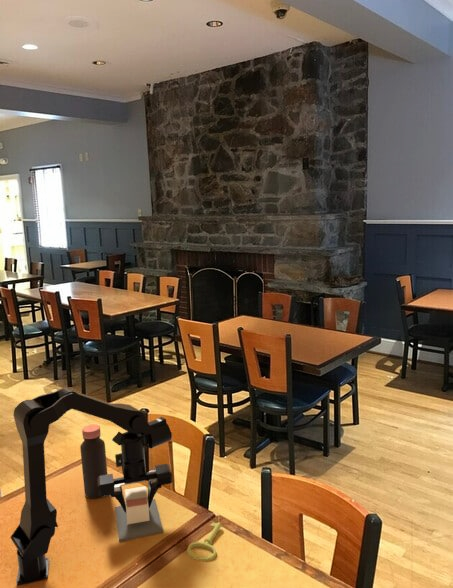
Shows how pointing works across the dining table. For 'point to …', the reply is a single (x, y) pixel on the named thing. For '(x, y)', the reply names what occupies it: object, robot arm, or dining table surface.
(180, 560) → the dining table surface
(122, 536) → the mat
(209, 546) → the key
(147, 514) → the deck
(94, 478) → the bottle
